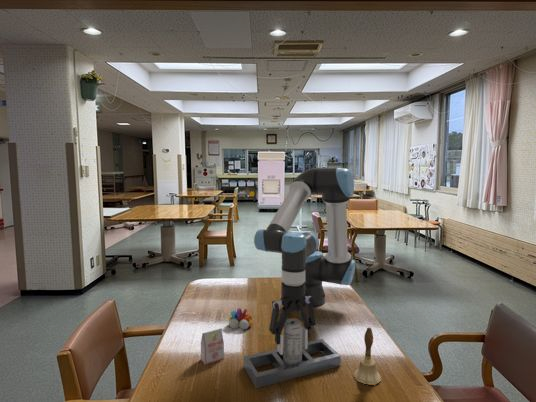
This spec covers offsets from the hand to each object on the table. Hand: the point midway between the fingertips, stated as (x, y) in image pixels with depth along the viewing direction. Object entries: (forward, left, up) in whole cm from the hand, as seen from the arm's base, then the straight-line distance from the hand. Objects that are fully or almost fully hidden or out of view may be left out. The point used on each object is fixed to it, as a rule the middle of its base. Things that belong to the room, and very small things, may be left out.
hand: (292, 349), depth 111 cm
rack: (0, 0, -6) cm, 6 cm away
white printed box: (+23, -14, -6) cm, 28 cm away
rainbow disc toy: (+7, -33, -6) cm, 34 cm away
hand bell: (-19, +14, -6) cm, 24 cm away
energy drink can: (0, 0, -6) cm, 6 cm away
